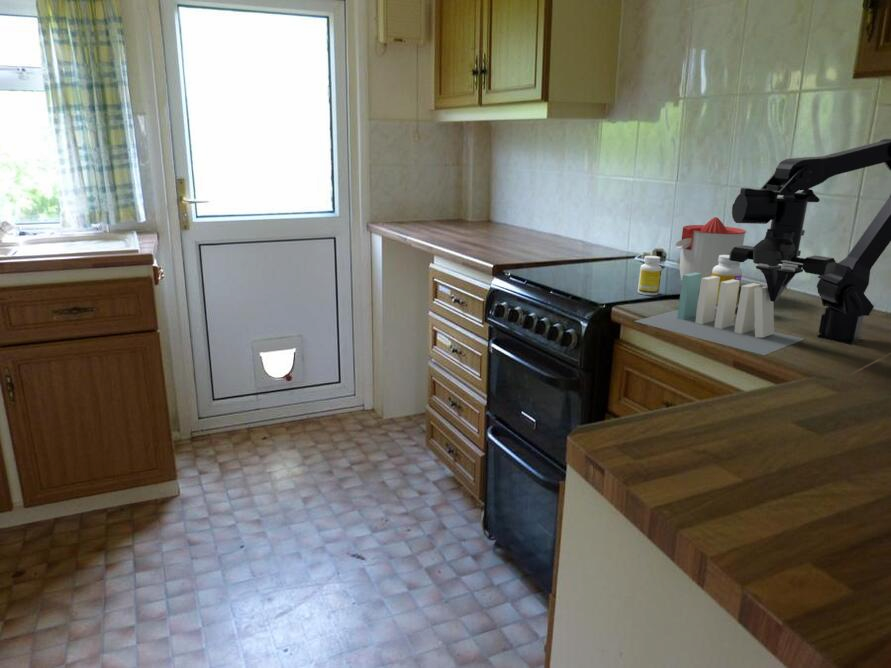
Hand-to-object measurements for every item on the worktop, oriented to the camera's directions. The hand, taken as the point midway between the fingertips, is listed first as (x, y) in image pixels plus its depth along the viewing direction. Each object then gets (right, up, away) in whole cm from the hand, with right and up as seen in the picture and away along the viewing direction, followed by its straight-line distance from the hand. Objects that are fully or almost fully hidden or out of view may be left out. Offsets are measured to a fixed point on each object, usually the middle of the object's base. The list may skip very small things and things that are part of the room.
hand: (773, 301), depth 134 cm
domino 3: (-3, -6, +6) cm, 9 cm away
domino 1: (-9, -4, +13) cm, 16 cm away
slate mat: (-9, -6, +7) cm, 13 cm away
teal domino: (-12, -3, +16) cm, 20 cm away
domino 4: (0, -7, +3) cm, 7 cm away
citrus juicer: (+3, +5, +44) cm, 44 cm away
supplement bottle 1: (-13, +4, +40) cm, 42 cm away
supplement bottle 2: (0, -1, +26) cm, 26 cm away
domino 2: (-6, -5, +9) cm, 12 cm away
